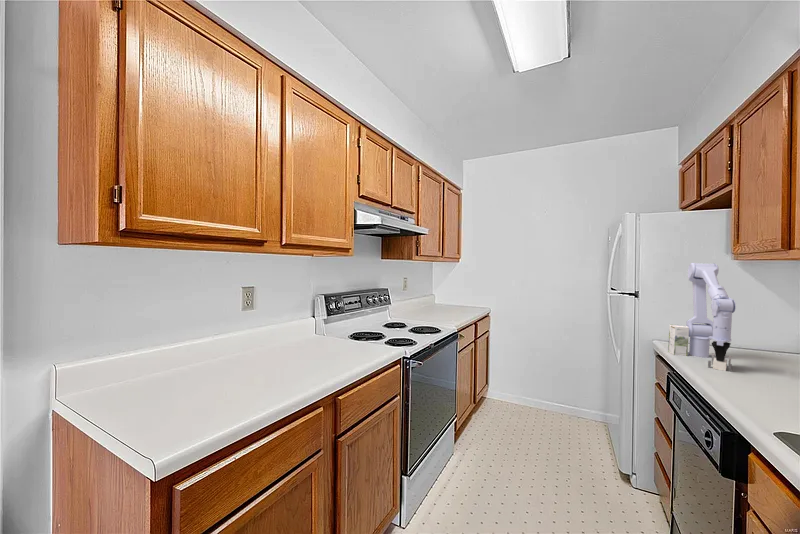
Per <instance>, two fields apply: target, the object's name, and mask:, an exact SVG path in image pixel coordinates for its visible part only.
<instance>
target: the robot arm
mask: <svg viewBox="0 0 800 534" xmlns="http://www.w3.org/2000/svg"><path fill="white" fill-rule="evenodd" d="M718 274H719V266H718V264H717V263H716V262H715V263H714V262H713V263H708V262H707V263H705V262H704V263H701V262H691V263H690V264H689V265H688V268H687V278H688V281H689V282H691V283H692V305H693V306H692V307H693V310H692V311H693V316H692V317H690V318H689V319H688V320H686V325H685V326H687V327H689V337H688V338H689V346H688V351H689V352H688V354H689V356H693V357H695V358H696V357H697V358H701V359H702V358H704V359H707V358H710V357H712V354H711V355H710V346H712V347H713V349H714V356H715V358H716V360H717V361H724V358H725V359H726V355H727V351H728V349H729V348H730V347H731V344H732V343H731V342H732V338H731V337H732V321H733V314H734V313H735V311H736V309H737V306H736V304H737V303H736V301H735V299H734V298H732V297H729V295H728V293H727V291H726V288H725V287H724V286H723V285H720V283H719V279H718V277H717V276H718ZM707 287H708V288H707ZM707 294H708V296H709V299H710V300H711V303H710V308H711V313H712V314H711V315H712V317H713V318H712V319H713V320H711V319H710V318H708V312H707V311H708V309H707V305H708V304H707ZM711 340H713V341H712V342H711V345H710V341H711Z"/></svg>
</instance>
